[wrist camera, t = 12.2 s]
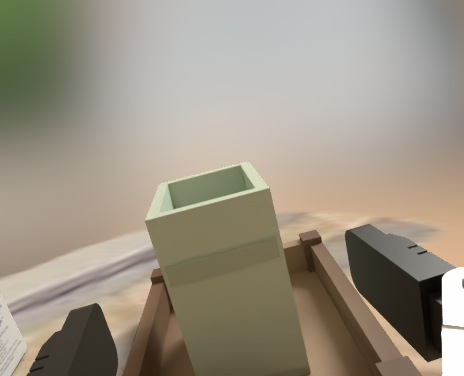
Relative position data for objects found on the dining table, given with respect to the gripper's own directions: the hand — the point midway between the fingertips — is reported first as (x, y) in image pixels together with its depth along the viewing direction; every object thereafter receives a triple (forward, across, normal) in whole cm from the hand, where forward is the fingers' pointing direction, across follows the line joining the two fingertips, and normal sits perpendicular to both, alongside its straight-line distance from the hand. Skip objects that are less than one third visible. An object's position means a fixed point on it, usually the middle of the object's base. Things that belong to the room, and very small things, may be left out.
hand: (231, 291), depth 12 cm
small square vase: (+6, 0, +7) cm, 9 cm away
